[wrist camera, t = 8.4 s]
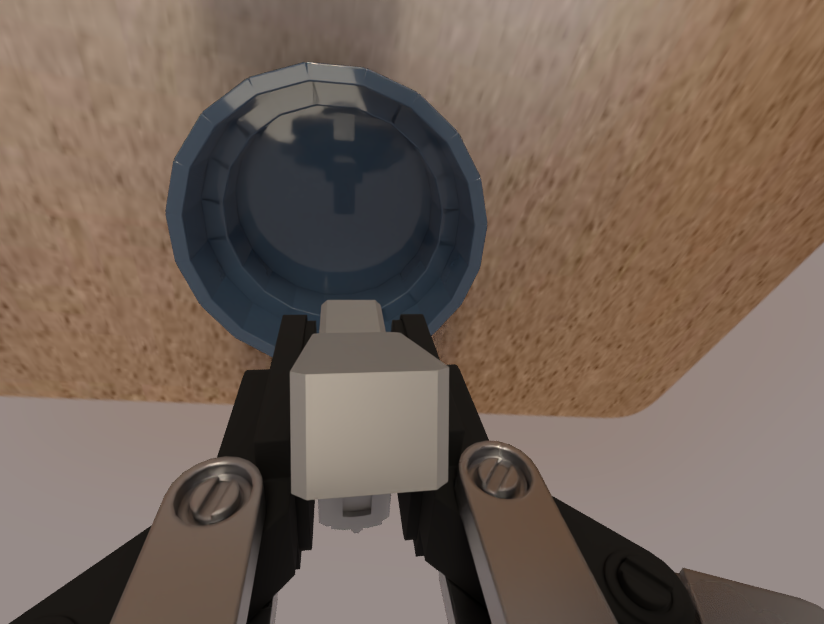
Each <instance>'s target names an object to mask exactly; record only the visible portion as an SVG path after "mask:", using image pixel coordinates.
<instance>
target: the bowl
mask: <svg viewBox="0 0 824 624" xmlns="http://www.w3.org/2000/svg"><path fill="white" fill-rule="evenodd" d="M165 211H166V213H165V214H166V219H167V224H168V229H169V234H170V239H171V244H172V248H173V253H174V258H175V262H176V264H177V266H178V268H179V269H180V271H181V273H182V274H183V276H184V278H185V280H186V281H187V283H188V285H189V287H190V288H191V290H192V292H193V294H194V295H195V297H196V299H197V300H198V302H199V304H201V306H202V307H203V308H204V309H205V310H206V311H207V312H208V313H209V314H210V315H211V316H212V317H213V318H215V319H216V320H217V321H218V322H219V323H220V324H221V325H222V326H223V327H224V328H225V329H226V330H227V331H228V332H229V333H231V334H232V335H233V336H235V338H237V339H239V340H240V341H242V342H244V343H246V344H248V345H250V346H252V347H254V348H256V349H258V350H259V351H261V352H263V353H265V354H267V355H269V356H271V357H273V354H274V350H275V345H276V341H277V337H278V333H279V329H280V324H281V320H282V316H283V315H307V318H308V321H316V327H317V333H319V330H320V317H321V305H322V304H323V303H324V302H326V301H327V300H376V301H377V302H378V303H379V304H380V305H381V310H382V315H383V320H384V325H385V331H386V332H391V324H392V320H399V319H400V315H401V314H423V315H424V318H425V320H426V323H427V326H428V329H429V332H430V334H431V336H432V334H434V333H435V332H436V331H437V330H438V329H439V328H440V327H441V326H442V325H443V324H444V322H445V321H446V320H447V319H448V318H449V317H450V316H451V315H452V314H453V313H454V312H455V311H456V310H457V309H458V308H459V307H460V305H461V304H462V302H463V300H464V299H465V297H466V295H467V293H468V291H469V289H470V287H471V285H472V283H473V281H474V279H475V277H476V275H477V273H478V271H479V269H480V265H481V260H482V254H483V248H484V242H485V236H486V231H487V217H486V210H485V203H484V196H483V189H482V182H481V178H480V175H479V173H478V171H477V169H476V167H475V165H474V163H473V161H472V159H471V157H470V155H469V153H468V151H467V149H466V147H465V145H464V143H463V141H462V139H461V137H460V135H459V133H458V132H457V130H456V129H455V128H454V127H453V126H452V125H451V124H450V123H449V122H448V121H447V120H446V119H445V118H444V117H443V116H442V115H441V114H440V113H439V112H438V111H437V110H436V109H435V108H434V107H433V106H432V105H431V104H430V103H429V102H428V101H426V100H425V99H424V98H423V97H422V96H421V95H420V94H418V93H417V92H416V91H414V90H412V89H410V88H408V87H406V86H404V85H401V84H399V83H397V82H395V81H393V80H391V79H389V78H387V77H385V76H383V75H380V74H378V73H376V72H374V71H372V70H370V69H368V68H366V69H365V68H364V67H356V66H346V65H336V64H326V63H315V62H302V63H298V64H295V65H291V66H287V67H284V68H280V69H276V70H273V71H269V72H265V73H262V74H258V75H254V76H251V77H249V78H246V79H245V80H244V81H242V82H241V83H240V84H238V85H237V86H236V87H234V88H233V89H232V90H230V91H229V92H228V93H226V94H225V95H224V96H222V97H221V98H220V99H218V100H217V101H216V102H214V103H213V104H212V105H210V106H209V107H208V108H207V109H205V110H204V111H203V112H202V113H201V114H200V116H199V118H198V119H197V121H196V123H195V124H194V126H193V128H192V129H191V131H190V133H189V134H188V136H187V138H186V140H185V141H184V143H183V145H182V146H181V148H180V150H179V151H178V153H177V155H176V156H175V158H174V161H173V165H172V172H171V178H170V185H169V191H168V198H167V204H166V210H165Z"/></svg>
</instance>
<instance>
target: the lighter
mask: <svg viewBox="0 0 824 624" xmlns="http://www.w3.org/2000/svg"><path fill="white" fill-rule="evenodd" d="M290 430H291V494H293V495H296V496H298V497H300V498H303V499H305V500H315V499H318V509H319V523H321V524H323V525H325V526H331V528H332V529H341V530H348V529H351V530H352V531H353V532H354V533H359V532H360V531H361V530H362V529H363V528H369V527H373V526H377V525H380V524H382V521H383V520H384V519H386V518H387V517H389V512H390V499H391V493H403V492H415V491H428V490H437V489H439V488H440V487H441V486H443V485H444V484H445V483H447V482H448V442H449V367H448V366H447V365H446V364H444V363H443V362H441V361H440V360H438V359H437V358H436V357H434V356H433V355H431V354H430V353H428V352H427V351H426V350H424V349H423V348H421V347H420V346H419V345H417V344H416V343H414V342H413V341H411V340H410V339H409V338H407V337H406V336H404V335H403V334H401V333H396V332H386V331H385V325H384V320H383V315H382V310H381V305H380V304H379V303H378V302H377V301H376V300H327V301H326V302H324V303H323V304H322V305H321V317H320V330H319V333H317V334H312V336H311V337H310V339H309V341H308V342H307V344H306V346H305V347H304V349H303V351H302V352H301V354H300V356H299V357H298V359H297V361H296V362H295V364H294V366H293V367H292V369H291V371H290Z"/></svg>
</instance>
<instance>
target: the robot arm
mask: <svg viewBox="0 0 824 624" xmlns="http://www.w3.org/2000/svg"><path fill="white" fill-rule="evenodd" d="M391 332H396V333H401V334H403V335H404V336H406V337H407V338H409V339H410V340H411V341H413V342H414V343H416V344H417V345H419V346H420V347H421V348H423V349H424V350H426V351H427V352H428V353H430V354H431V355H433V356H434V357H436V358H437V359H438V360H440V359H439V357H438V354H437V351H436V348H435V345H434V343H433V340H432V337H431V334H430V332H429V329H428V326H427V323H426V320H425V318H424V315H423V314H401V315H400V319H399V320H392V324H391ZM312 334H317V327H316V321H308V318H307V315H283V316H282V320H281V324H280V329H279V333H278V337H277V341H276V345H275V350H274V354H273V358H272V362H271V367H270V369H268V370H247V371H245V373H244V375H243V378H242V381H241V385H240V388H239V391H238V394H237V397H236V400H235V403H234V406H233V410H232V413H231V416H230V419H229V422H228V425H227V428H226V431H225V435H224V438H223V441H222V444H221V447H220V450H219V453H218V456H217V458H213V459H209V460H207V461H204V462H201V463H198V464H196V465H195V466H193V467H191V468H190V469H188V470H187V471H185V472H183V473H182V474H181V475H180V476H179V477H178V478H177V479H176V480H175V481H174V482H173V483H172V484H171V486H170V488H169V489H168V491H167V493H166V494H165V496H164V498H163V501H162V503H161V505H160V507H159V510H158V512H157V515H156V517H155V519H154V521H153V524H152V526H150V527H149V528H147V529H146V530H144V531H143V532H141V533H140V534H138V535H137V536H135V537H134V538H133V539H131V540H130V541H128V542H127V543H125V544H124V545H122V546H121V547H119V548H118V549H117V550H115V551H114V552H112V553H111V554H109V555H108V556H106V557H105V558H104V559H102V560H101V561H99V562H98V563H96V564H95V565H93V566H92V567H90V568H89V569H87V570H86V571H85V572H83V573H82V574H80V575H79V576H77V577H76V578H74V579H73V580H72V581H70V582H69V583H67V584H66V585H64V586H63V587H61V588H60V589H58V590H57V591H56V592H54V593H53V594H51V595H50V596H48V597H47V598H45V599H44V600H42V601H41V602H40V603H38V604H37V605H35V606H34V607H32V608H31V609H29V610H28V611H26V612H25V613H24V614H22V615H21V616H19V617H18V618H16V619H15V620H13V621H12V622H10V623H9V624H275V616H276V608H277V592H278V591H279V590H280V589H281V588H282V587H283V586H284V585H285V584H286V583H287V582H288V581H289V580H290V579H291V578H292V577H293V576H294V575H295V570H296V569H300V563H301V551H304V550H311V549H312V539H313V522H314V504H315V500H305V499H303V498H300V497H298V496H296V495H293V494H291V430H290V371H291V369H292V367H293V366H294V364H295V362H296V361H297V359H298V357H299V356H300V354H301V352H302V351H303V349H304V347H305V346H306V344H307V342H308V341H309V339H310V337H311V336H312ZM447 366H448V367H449V442H448V482H447V483H445V484H444V485H443V486H441V487H440V488H439V489H437V490H428V491H415V492H403V493H397V494H398V501H399V508H400V515H401V522H402V529H403V535H404V539H405V540H413V542H414V546H415V547H414V548H415V554H416V556H424V557H425V561H426V562H428V563H429V564H430V565H432V566H433V567H434V568H436V569H437V570H438V571H439V581H440V586H441V591H442V596H443V601H444V606H445V611H446V615H447V620H448V624H824V609H822V608H821V607H819V606H818V605H816V604H813V603H811V602H808V601H806V600H803V599H801V598H797V597H793V596H789V595H786V594H782V593H778V592H774V591H770V590H767V589H762V588H759V587H754V586H751V585H747V584H743V583H739V582H736V581H732V580H728V579H724V578H720V577H717V576H713V575H709V574H705V573H701V572H697V571H693V570H690V569H686V568H682V570H681V571H680V573H675V572H674V571H673V570H672V569H671V568H670V567H669V566H668V565H667V564H666V563H665V562H663V561H662V560H661V559H659V558H658V557H656V556H655V555H654V554H652V553H651V552H649V551H647V550H646V549H644V548H642V547H640V546H639V545H637V544H635V543H633V542H631V541H630V540H628V539H626V538H625V537H623V536H621V535H619V534H618V533H616V532H614V531H612V530H611V529H609V528H607V527H605V526H604V525H602V524H600V523H598V522H597V521H595V520H593V519H592V518H590V517H588V516H586V515H585V514H583V513H581V512H579V511H577V510H576V509H574V508H572V507H571V506H569V505H567V504H565V503H564V502H562V501H560V500H558V499H557V498H555V497H553V496H551V494H550V492H549V490H548V488H547V486H546V484H545V482H544V480H543V478H542V477H541V474H540V472H539V471H538V469H537V467H536V466H535V464H534V463H533V461H532V460H531V459H530V458H529V457H528V456H527V455H526V454H525V453H523V452H522V451H521V450H519V449H517V448H515V447H513V446H512V445H510V444H506V443H503V442H499V441H489V439H488V437H487V434H486V432H485V430H484V427H483V425H482V422H481V420H480V417H479V415H478V413H477V410H476V408H475V405H474V403H473V401H472V398H471V396H470V393H469V391H468V389H467V386H466V384H465V381H464V379H463V377H462V374H461V372H460V369H459V368H458V366H457V365H455V364H454V365H447Z"/></svg>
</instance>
